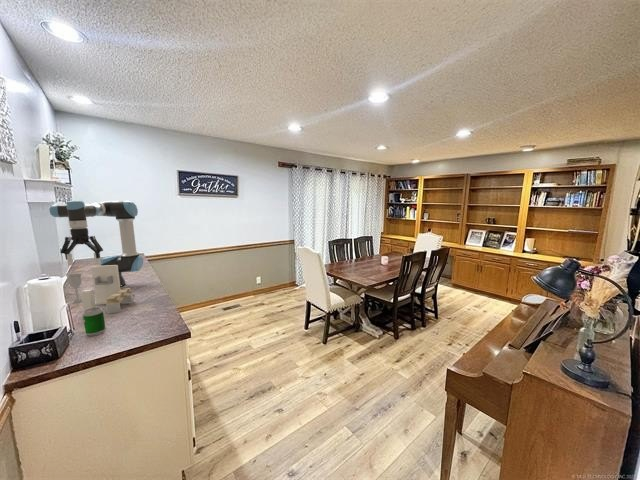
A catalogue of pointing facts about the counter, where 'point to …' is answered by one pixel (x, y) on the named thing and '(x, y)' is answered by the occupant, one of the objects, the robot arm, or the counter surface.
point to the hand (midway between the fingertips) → (84, 264)
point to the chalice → (75, 285)
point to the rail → (118, 296)
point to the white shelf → (102, 286)
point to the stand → (116, 307)
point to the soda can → (94, 321)
